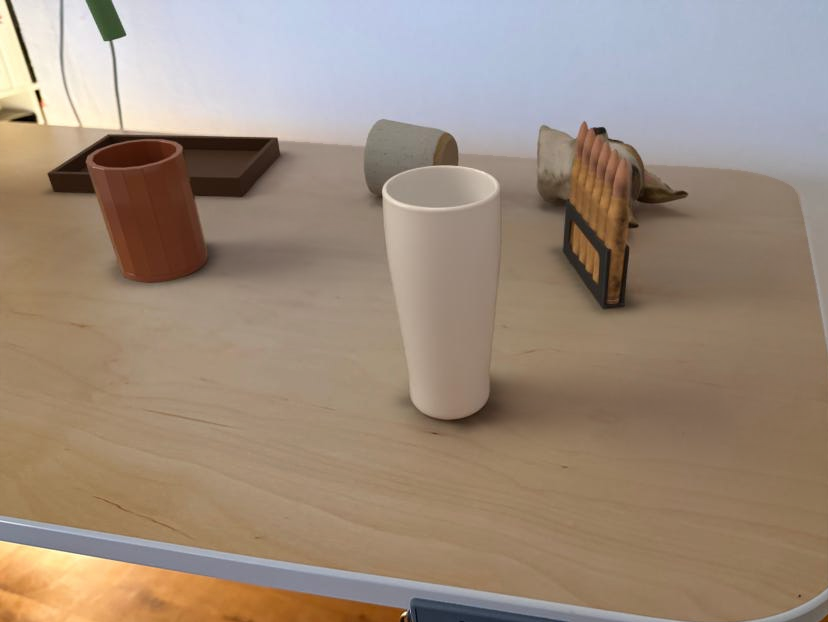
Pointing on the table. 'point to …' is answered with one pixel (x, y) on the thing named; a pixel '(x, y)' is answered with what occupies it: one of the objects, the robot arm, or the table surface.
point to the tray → (206, 161)
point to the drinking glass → (445, 282)
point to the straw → (106, 19)
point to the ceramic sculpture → (559, 162)
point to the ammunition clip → (598, 218)
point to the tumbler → (149, 208)
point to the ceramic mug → (404, 151)
